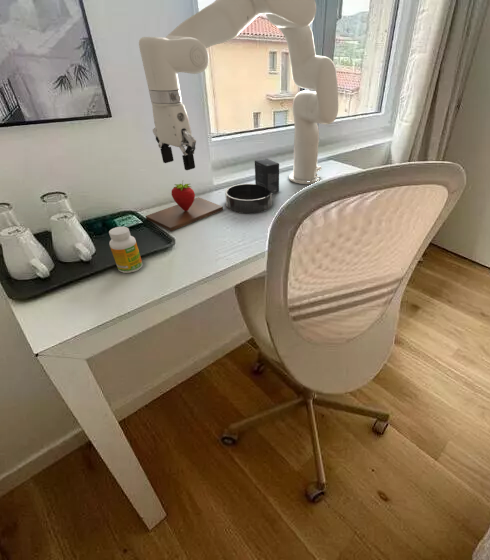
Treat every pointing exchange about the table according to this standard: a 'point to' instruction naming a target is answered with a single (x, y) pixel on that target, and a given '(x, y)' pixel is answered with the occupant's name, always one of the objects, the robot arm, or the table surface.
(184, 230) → the table surface
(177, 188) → the strawberry
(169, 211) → the cutting board
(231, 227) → the table surface
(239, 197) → the pan
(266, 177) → the box
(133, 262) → the supplement bottle
